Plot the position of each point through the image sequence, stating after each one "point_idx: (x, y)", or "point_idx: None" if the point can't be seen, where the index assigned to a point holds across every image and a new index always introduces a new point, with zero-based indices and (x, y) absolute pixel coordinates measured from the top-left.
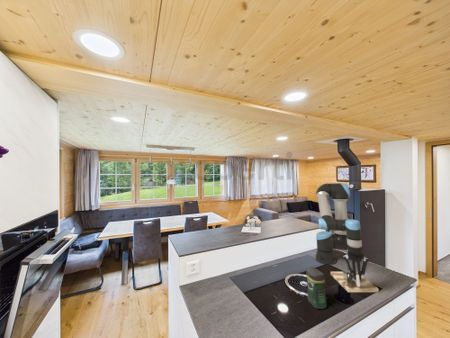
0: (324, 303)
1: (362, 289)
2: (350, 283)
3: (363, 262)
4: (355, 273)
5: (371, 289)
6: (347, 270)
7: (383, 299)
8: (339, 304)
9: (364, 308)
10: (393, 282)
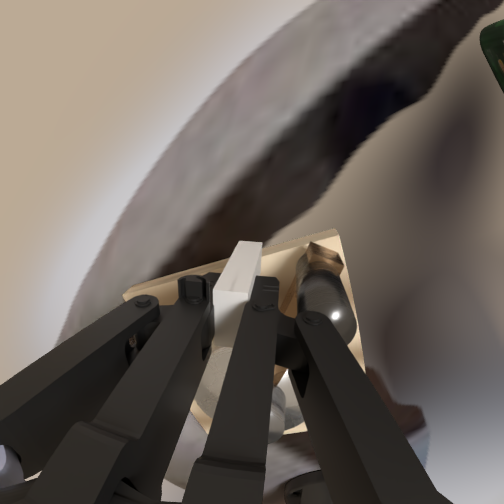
0: (497, 22)
1: (221, 266)
2: (319, 256)
3: (49, 444)
4: (253, 308)
5: (161, 282)
6: (284, 422)
7: (124, 210)
8: (420, 66)
9: (272, 57)
10: None
